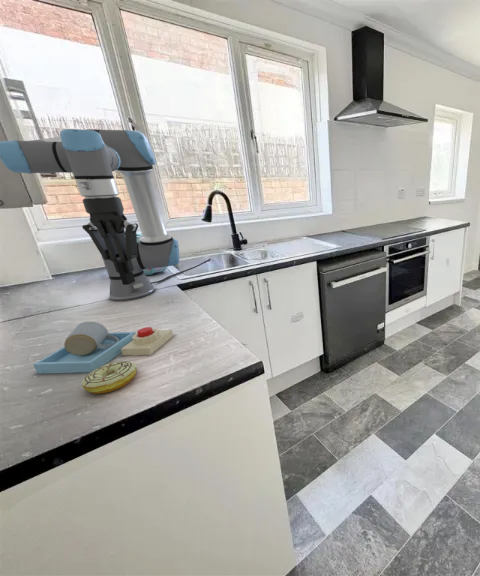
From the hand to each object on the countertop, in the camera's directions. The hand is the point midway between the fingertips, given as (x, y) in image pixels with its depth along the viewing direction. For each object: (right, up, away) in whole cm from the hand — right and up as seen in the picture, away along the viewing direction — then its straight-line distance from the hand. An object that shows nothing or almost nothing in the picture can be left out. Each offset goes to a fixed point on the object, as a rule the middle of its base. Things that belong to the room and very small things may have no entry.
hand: (129, 283), depth 88 cm
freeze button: (0, -16, +6) cm, 17 cm away
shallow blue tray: (-13, -21, +2) cm, 25 cm away
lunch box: (-56, +7, +77) cm, 95 cm away
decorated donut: (+4, -26, -9) cm, 28 cm away
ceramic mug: (-13, -20, +4) cm, 24 cm away
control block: (0, -19, +7) cm, 20 cm away
